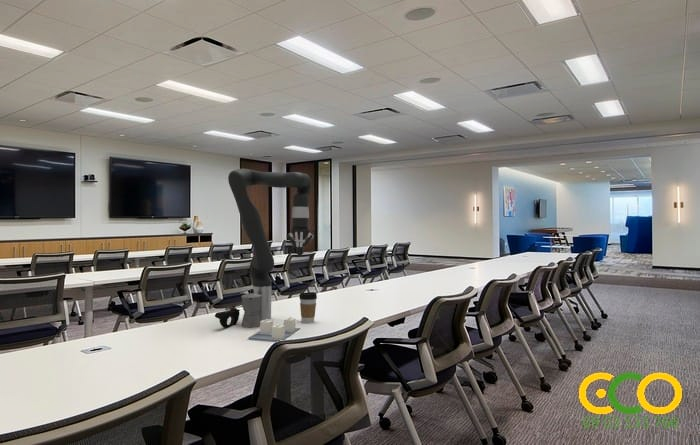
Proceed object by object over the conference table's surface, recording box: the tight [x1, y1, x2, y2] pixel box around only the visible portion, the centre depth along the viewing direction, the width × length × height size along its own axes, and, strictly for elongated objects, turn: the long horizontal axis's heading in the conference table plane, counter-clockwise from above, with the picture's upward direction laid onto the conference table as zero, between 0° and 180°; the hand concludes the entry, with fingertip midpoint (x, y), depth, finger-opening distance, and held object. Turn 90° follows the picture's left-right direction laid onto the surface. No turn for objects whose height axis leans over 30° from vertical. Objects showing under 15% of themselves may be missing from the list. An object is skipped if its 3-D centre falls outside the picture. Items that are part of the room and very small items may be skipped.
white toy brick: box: [272, 323, 285, 339], centre depth 182 cm, size 4×4×6 cm
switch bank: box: [246, 327, 301, 343], centre depth 189 cm, size 14×24×2 cm, turn 167°
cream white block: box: [259, 319, 274, 334], centre depth 190 cm, size 4×4×6 cm
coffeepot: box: [241, 288, 262, 329], centre depth 203 cm, size 15×9×18 cm, turn 8°
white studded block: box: [283, 316, 297, 331], centre depth 194 cm, size 4×4×6 cm
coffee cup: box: [299, 291, 318, 324], centre depth 213 cm, size 8×8×15 cm
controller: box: [214, 304, 241, 329], centre depth 202 cm, size 4×12×10 cm, turn 145°
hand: (300, 255), depth 200 cm, fingers closed
